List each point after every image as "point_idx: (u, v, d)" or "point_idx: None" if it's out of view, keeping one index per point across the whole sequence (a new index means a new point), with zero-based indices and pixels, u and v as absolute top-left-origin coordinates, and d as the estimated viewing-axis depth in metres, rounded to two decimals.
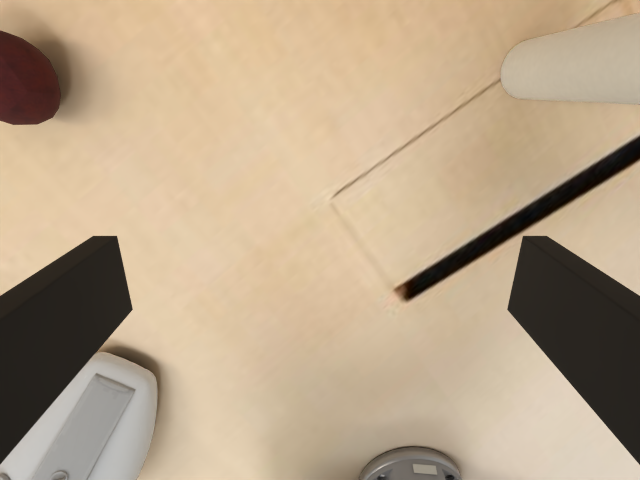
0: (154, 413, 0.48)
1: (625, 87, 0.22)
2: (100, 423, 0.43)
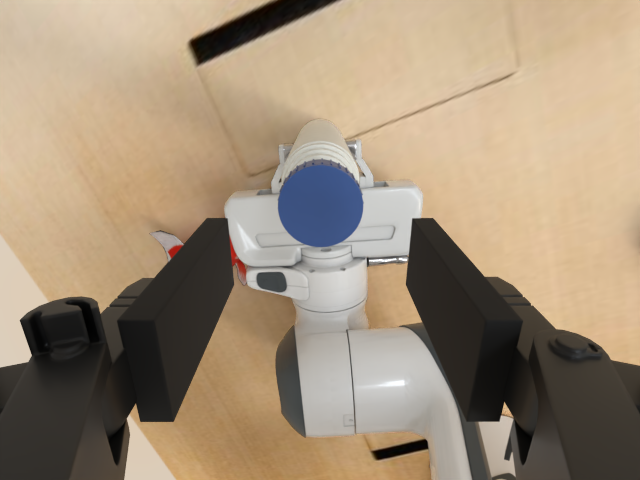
0: None
1: None
2: None
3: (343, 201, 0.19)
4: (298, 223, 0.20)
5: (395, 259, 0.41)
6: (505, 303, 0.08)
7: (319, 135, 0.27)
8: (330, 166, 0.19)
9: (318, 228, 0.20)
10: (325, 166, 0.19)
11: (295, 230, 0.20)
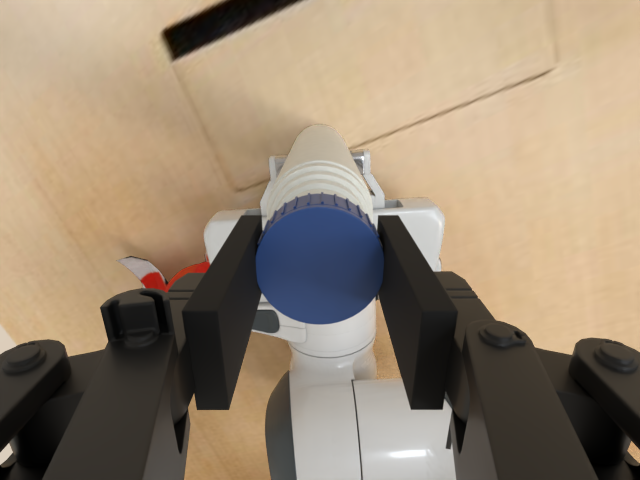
0: None
1: None
2: None
3: (354, 260, 0.13)
4: (286, 291, 0.13)
5: None
6: (445, 295, 0.09)
7: (318, 150, 0.20)
8: (335, 208, 0.12)
9: (316, 298, 0.13)
10: (327, 209, 0.12)
11: (282, 301, 0.13)
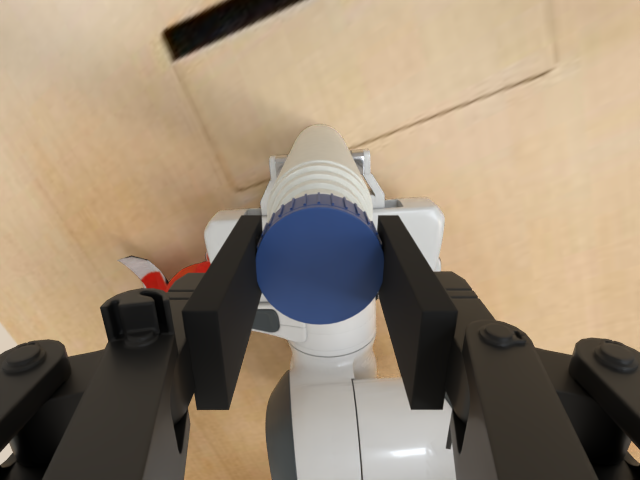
0: None
1: None
2: None
3: (297, 243, 0.12)
4: (354, 290, 0.13)
5: None
6: (445, 295, 0.09)
7: (318, 150, 0.20)
8: None
9: (352, 262, 0.13)
10: (259, 284, 0.13)
11: (366, 290, 0.13)
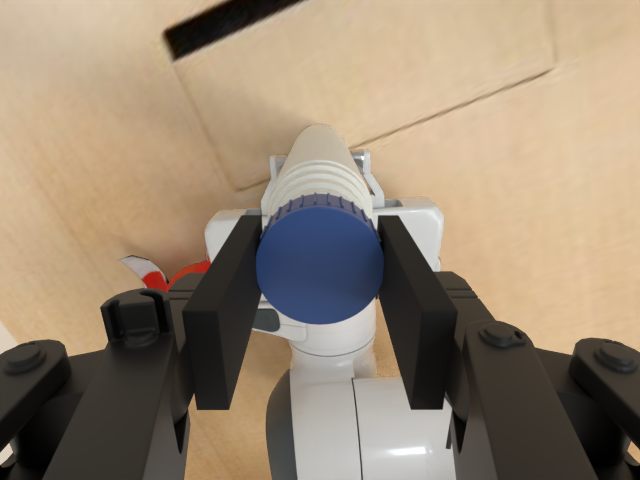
0: None
1: None
2: None
3: (301, 297, 0.13)
4: (328, 231, 0.12)
5: None
6: (445, 295, 0.09)
7: (318, 150, 0.21)
8: (349, 317, 0.14)
9: (299, 245, 0.12)
10: (355, 314, 0.13)
11: (324, 219, 0.12)
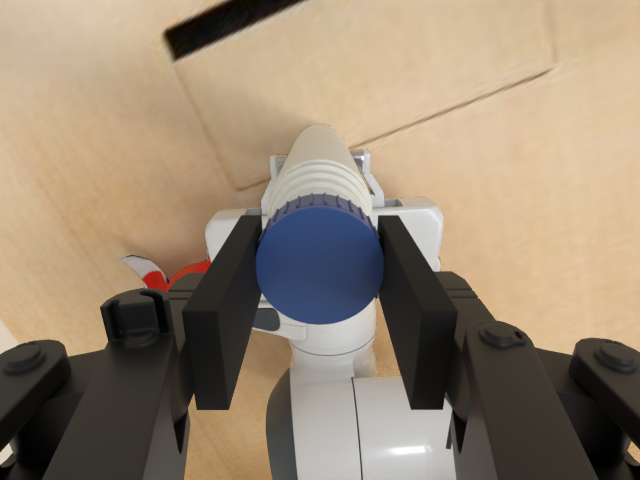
0: None
1: None
2: None
3: (355, 275, 0.13)
4: (278, 276, 0.13)
5: None
6: (445, 295, 0.09)
7: (318, 149, 0.21)
8: (362, 222, 0.12)
9: (302, 294, 0.13)
10: (356, 219, 0.12)
11: (269, 283, 0.13)
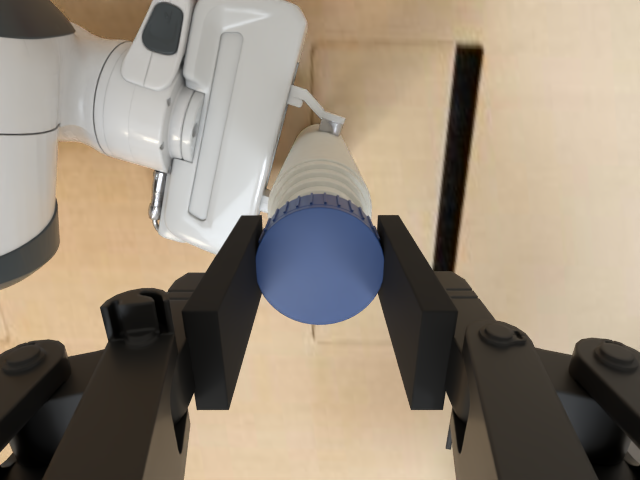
0: None
1: None
2: None
3: (355, 275, 0.13)
4: (278, 276, 0.13)
5: (157, 205, 0.32)
6: (445, 295, 0.09)
7: None
8: (362, 222, 0.12)
9: (302, 294, 0.13)
10: (356, 219, 0.12)
11: (269, 283, 0.13)
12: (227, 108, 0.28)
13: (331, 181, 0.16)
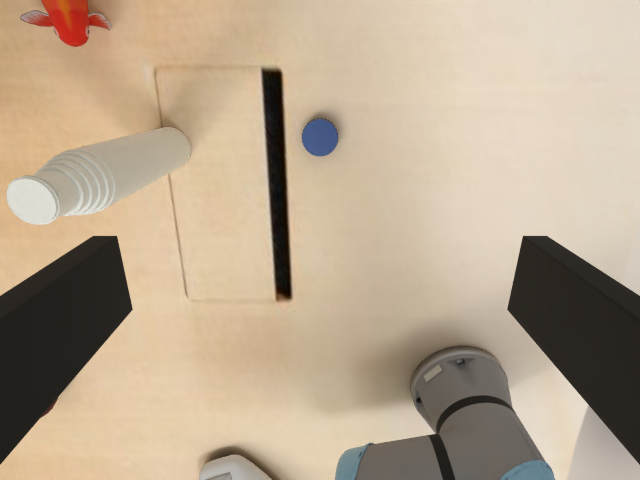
0: (257, 474, 0.67)
1: None
2: None
3: (329, 140, 0.47)
4: (308, 140, 0.47)
5: None
6: None
7: (131, 184, 0.34)
8: (331, 124, 0.46)
9: (315, 146, 0.47)
10: (329, 123, 0.46)
11: (306, 142, 0.47)
12: None
13: (65, 162, 0.28)
